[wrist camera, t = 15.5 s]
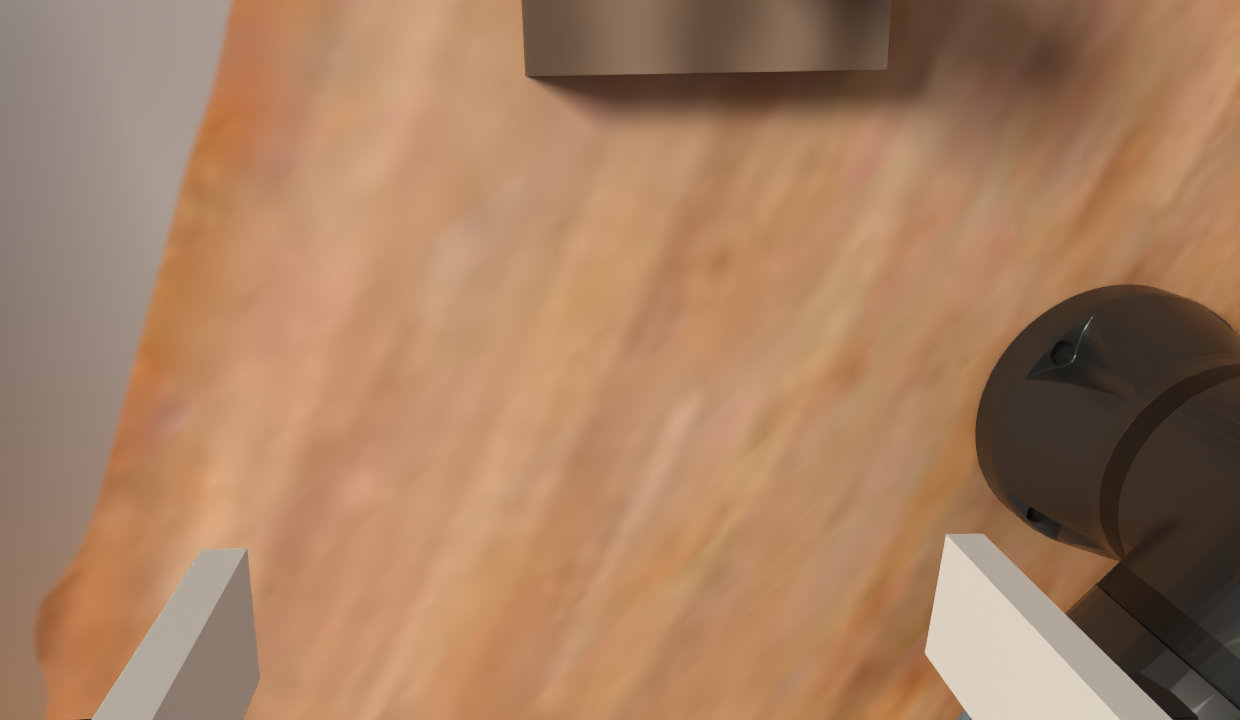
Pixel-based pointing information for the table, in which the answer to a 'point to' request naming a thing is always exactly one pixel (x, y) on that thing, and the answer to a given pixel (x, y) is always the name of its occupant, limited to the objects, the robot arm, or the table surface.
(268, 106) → the table surface
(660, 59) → the block
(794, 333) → the table surface
